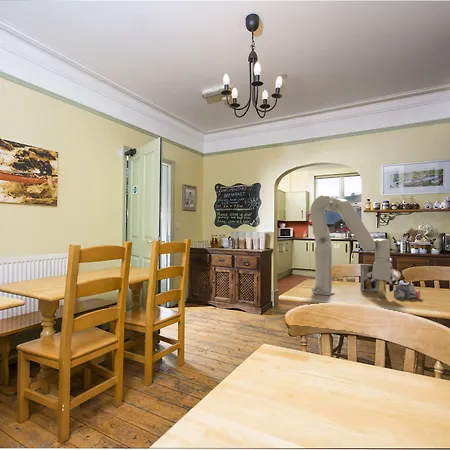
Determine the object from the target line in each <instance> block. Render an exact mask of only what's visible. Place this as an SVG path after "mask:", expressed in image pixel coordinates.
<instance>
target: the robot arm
mask: <svg viewBox="0 0 450 450" xmlns="http://www.w3.org/2000/svg"><path fill="white" fill-rule="evenodd" d="M326 211H330V212H333V213H337V214H339V216H340V217H341V219H342V220H343V222H344V223H345V225H346V227H347V228H348V230H349V231H350V232H351V233H352V234H353V236H354V238H355V239H356V240H357V242H358V244H359V245H360V247H361V249H362V250H363V251H364V252H367V253H371V252H374V262H373V263H372V265H373V270H372V272H370V273H367V276H368V278H369V279H370V281H371V287H372V289H374V288H375V284H376V282H375V280H376V279H378V280H385V281H386V282H388V283H389V285H388V286H389V287H388V291H389V293H392V292H394V290H395V288H394V285H395V284H396V283H397V282H398V280H399V279H400V277H398V276H397V275H396V274H395V273H394V272H393V264H392V263H391V262H393V259H392V258H391V254H390V253H391V252H390V249H391V247H390V246H391V245H390V244H391V242H390V239H388V238H373V237H372V235H371V234H370V232H369V230H368V228H366V225H365V224H364V221H363V220H362V218H361V217H360V216H359V214H358V212H357V211H356V210H355V208H354V206H353V205H352V203H351V202H350V201H349V200H348V199H339V198H335V197H331V196H330V195H327V194H322V195H321V194H320V195H319V196H317V197H316V198H315V199H314V200H313V202H312V203H311V206H310V219H311V225H312V235H313V236H314V241H315V249H314V255H315V256H314V257H315V259H314V261H315V262H314V263H315V264H314V265H315V271H314V272H315V274H314V275H315V277H314V278H315V279H314V281H315V285H314V287H312V288H311V292H312V293H314V294H316V295H322V296H331V295H334V294H335V290H332V289H333V287H332V286H333V282H332V281H333V279H332V276H333V275H332V274H333V273H332V271H333V267H332V266H333V264H332V263H333V262H332V261H333V260H332V257H333V256H332V254H333V245H332V241H331V240H332V239H331V234H330V228H329V227H328V224H327V219H326V218H327V217H326ZM371 274H372V277H373V278H372V277H371ZM393 279H394V280H393Z"/></svg>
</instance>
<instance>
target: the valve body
mask: <svg viewBox="0 0 450 450" xmlns="http://www.w3.org/2000/svg"><path fill="white" fill-rule="evenodd" d="M393 297H394V298H395V299H397V300H403V299H404V300H409V301H410V300H412V299H414V298H415V300H417V301H418V300H421V291H420V290H416V289H415V286H414V285H411V284H404V283H400V284H399V283H398V284H396V285H395V288H394V289H393Z"/></svg>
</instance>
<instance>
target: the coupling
mask: <svg viewBox="0 0 450 450" xmlns="http://www.w3.org/2000/svg"><path fill="white" fill-rule="evenodd" d="M377 295H378V296H377V297H378V298H380V299H387V281H385V280H378V291H377Z"/></svg>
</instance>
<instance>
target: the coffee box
mask: <svg viewBox="0 0 450 450" xmlns="http://www.w3.org/2000/svg"><path fill="white" fill-rule="evenodd" d="M359 266H360V273H359V274H360V290H361V291H362V292H378V279H376V280H375V282H376V284H375V288H374V289H372V287H371V281H370V279H369V278H368V276H367V273H370V272H372V270H373V264H360V265H359ZM371 277H372V274H371ZM372 278H373V277H372Z"/></svg>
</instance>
